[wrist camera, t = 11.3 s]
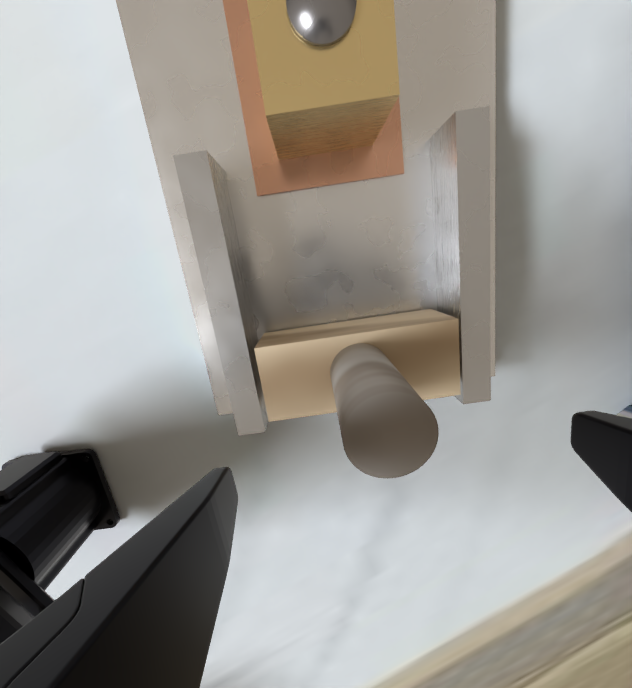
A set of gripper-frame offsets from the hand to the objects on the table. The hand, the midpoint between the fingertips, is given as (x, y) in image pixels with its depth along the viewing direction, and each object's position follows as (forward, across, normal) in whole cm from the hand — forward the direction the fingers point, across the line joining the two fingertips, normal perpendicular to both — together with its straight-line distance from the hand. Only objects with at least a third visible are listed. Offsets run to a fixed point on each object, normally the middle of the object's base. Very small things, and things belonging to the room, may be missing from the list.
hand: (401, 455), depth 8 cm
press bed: (+13, 0, -10) cm, 16 cm away
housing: (+11, 0, -14) cm, 18 cm away
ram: (+11, 0, 0) cm, 11 cm away
